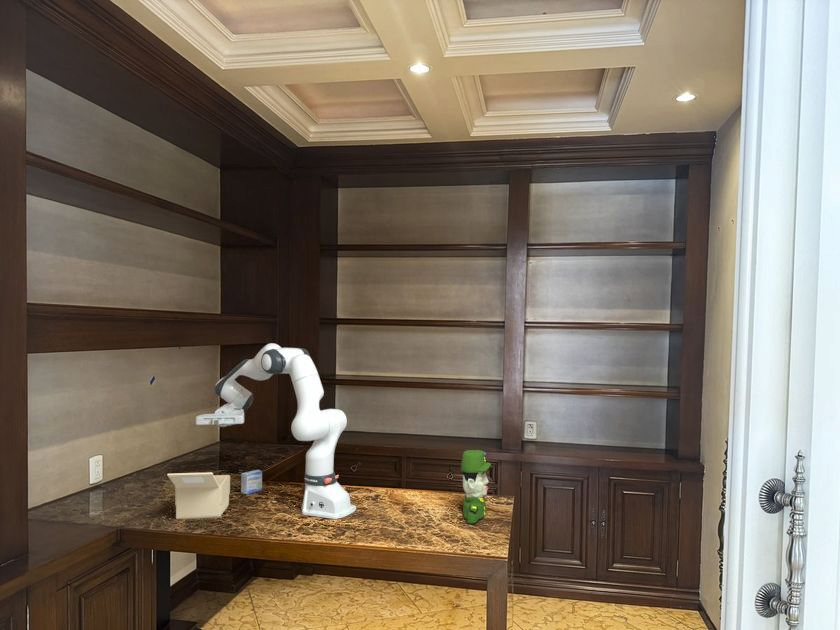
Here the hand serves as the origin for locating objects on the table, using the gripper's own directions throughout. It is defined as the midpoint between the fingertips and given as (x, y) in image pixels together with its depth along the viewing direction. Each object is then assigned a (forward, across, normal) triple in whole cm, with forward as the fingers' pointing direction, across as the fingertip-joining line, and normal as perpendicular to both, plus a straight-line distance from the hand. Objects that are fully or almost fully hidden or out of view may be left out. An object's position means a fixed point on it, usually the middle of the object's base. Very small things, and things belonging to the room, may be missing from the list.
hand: (216, 422), depth 224 cm
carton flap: (+29, 0, +15) cm, 33 cm away
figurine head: (+32, +106, +33) cm, 115 cm away
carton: (+17, 0, +32) cm, 36 cm away
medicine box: (-6, +13, +32) cm, 35 cm away
